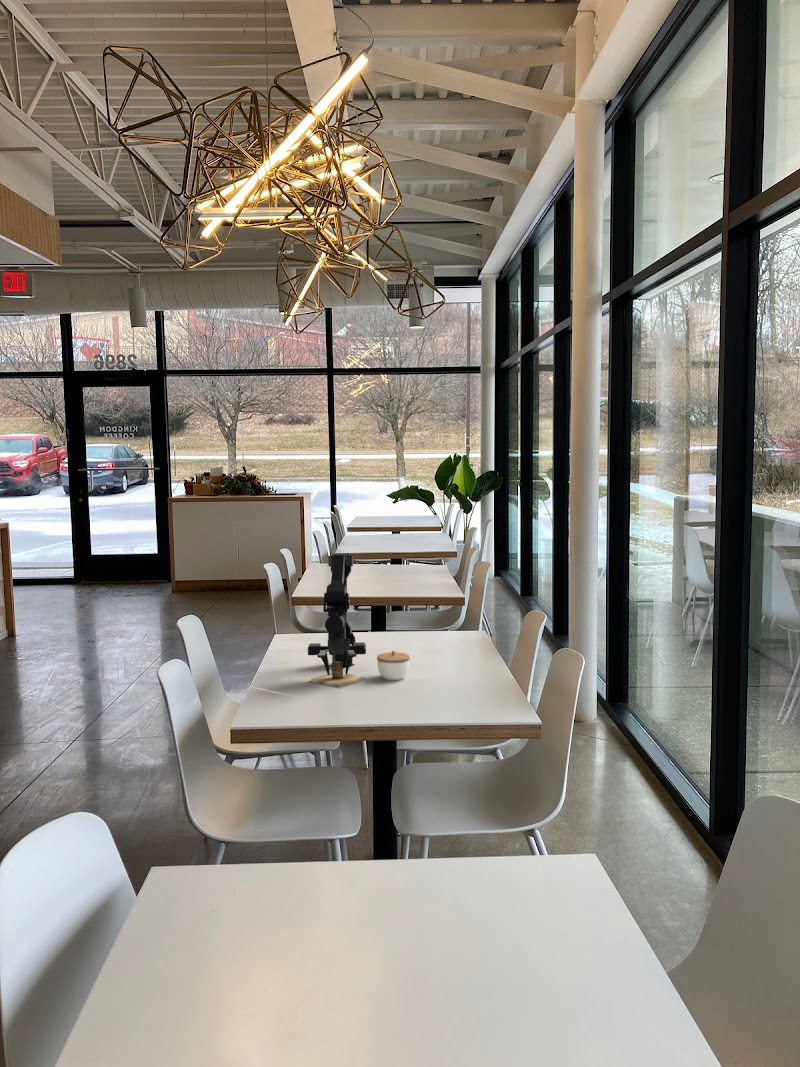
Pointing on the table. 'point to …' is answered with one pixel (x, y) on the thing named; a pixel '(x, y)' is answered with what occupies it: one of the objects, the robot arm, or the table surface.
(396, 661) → the lidded jar
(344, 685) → the mat
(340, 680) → the lid
